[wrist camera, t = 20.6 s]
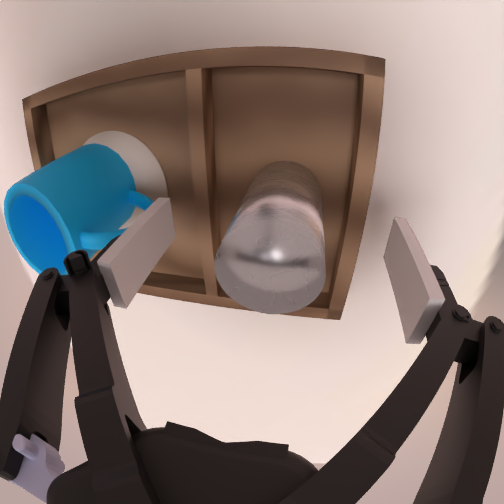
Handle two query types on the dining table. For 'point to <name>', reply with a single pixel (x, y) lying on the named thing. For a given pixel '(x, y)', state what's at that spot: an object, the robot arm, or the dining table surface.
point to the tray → (227, 147)
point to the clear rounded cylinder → (275, 242)
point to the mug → (71, 206)
